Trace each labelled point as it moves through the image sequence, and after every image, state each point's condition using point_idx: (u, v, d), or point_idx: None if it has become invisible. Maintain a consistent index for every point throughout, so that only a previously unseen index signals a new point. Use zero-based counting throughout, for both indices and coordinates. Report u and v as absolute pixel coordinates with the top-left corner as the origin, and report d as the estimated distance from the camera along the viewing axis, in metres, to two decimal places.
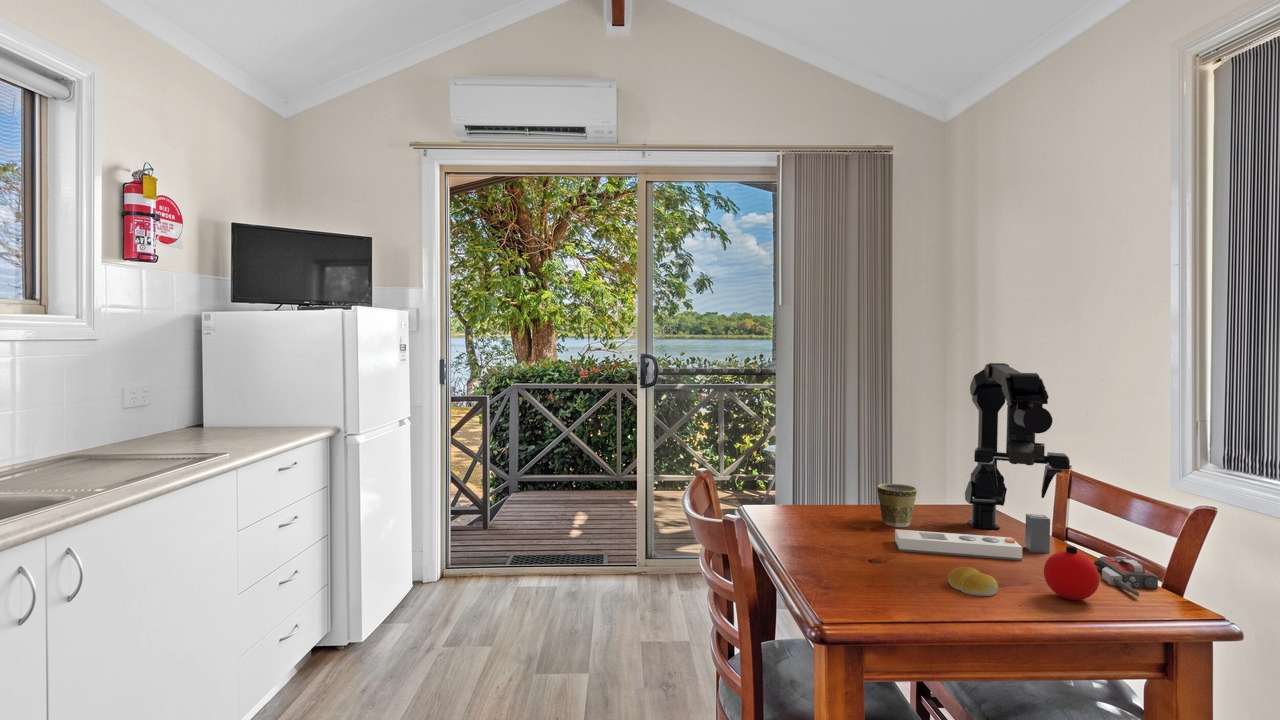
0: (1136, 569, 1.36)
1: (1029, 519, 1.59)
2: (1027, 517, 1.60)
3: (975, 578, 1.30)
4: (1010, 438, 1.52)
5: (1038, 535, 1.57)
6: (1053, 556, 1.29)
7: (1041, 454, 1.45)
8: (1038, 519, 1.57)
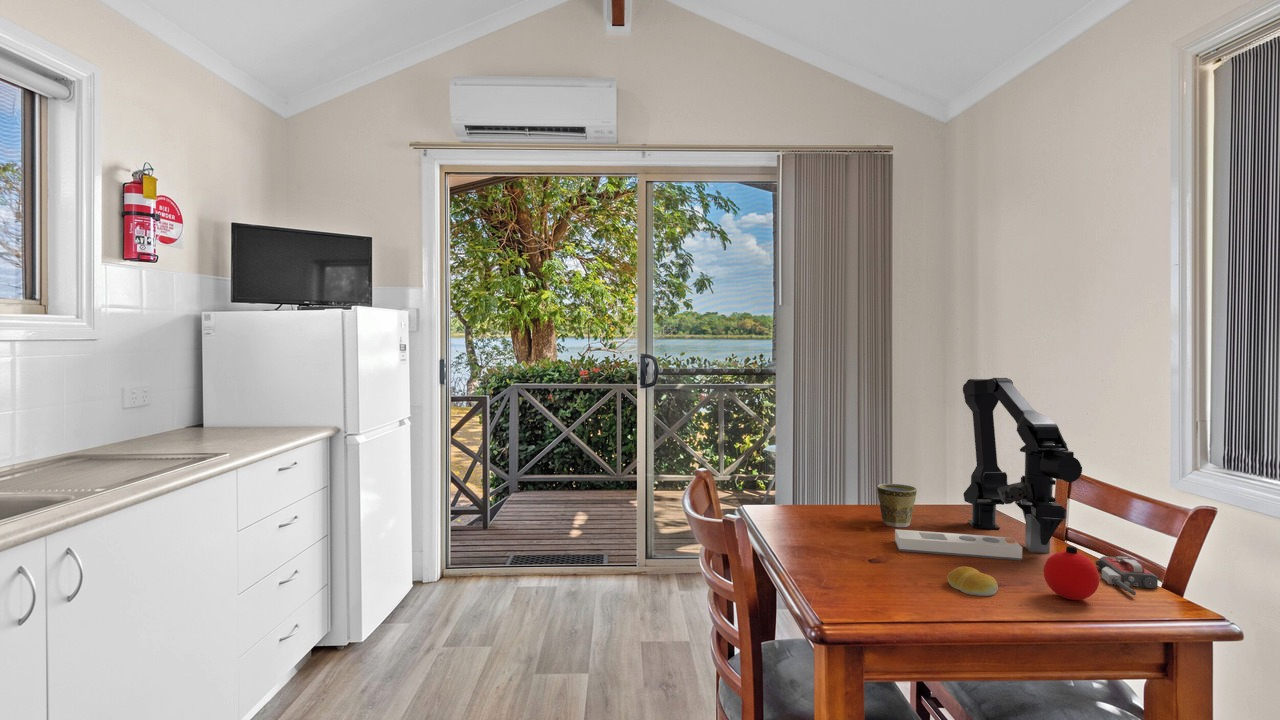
0: (1135, 569, 1.36)
1: (1029, 519, 1.59)
2: (1027, 517, 1.60)
3: (975, 578, 1.30)
4: (1021, 480, 1.62)
5: (1038, 535, 1.57)
6: (1053, 556, 1.29)
7: (1008, 495, 1.57)
8: None
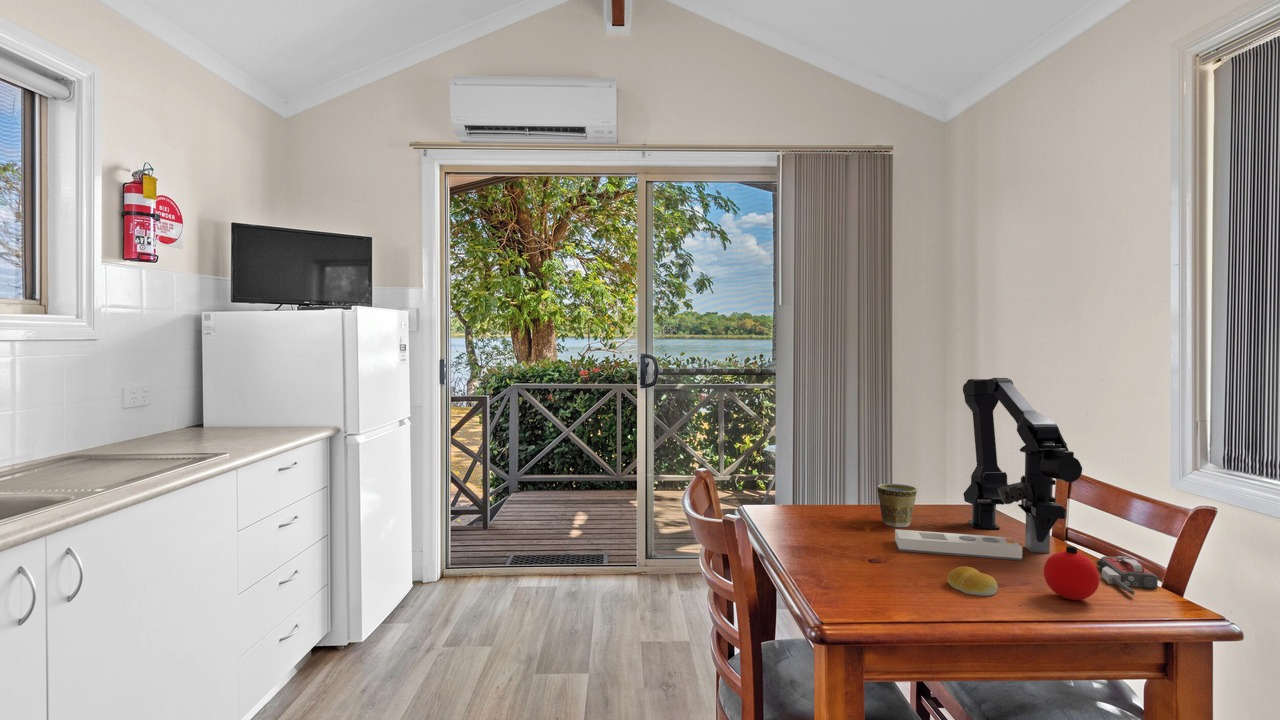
0: (1135, 568, 1.36)
1: (1029, 519, 1.59)
2: (1027, 517, 1.60)
3: (975, 578, 1.30)
4: (1021, 480, 1.62)
5: None
6: (1053, 556, 1.29)
7: (1008, 495, 1.57)
8: None
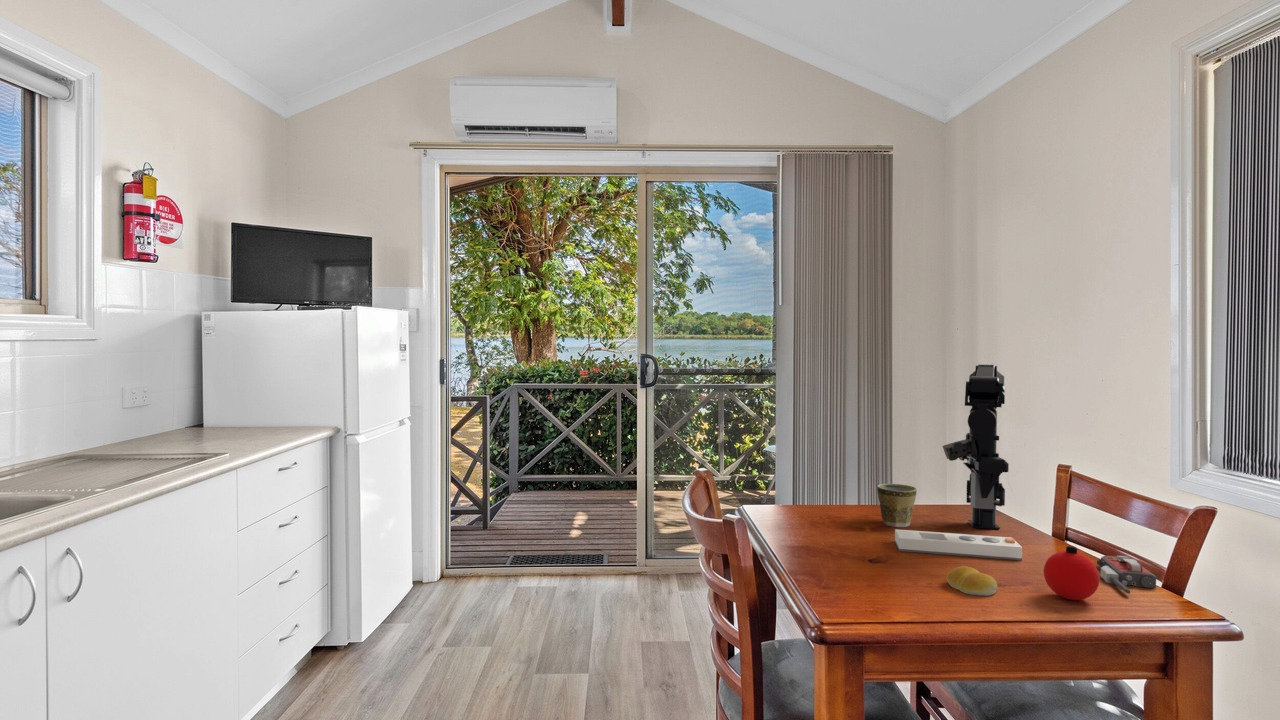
0: (1134, 568, 1.36)
1: (974, 475, 1.58)
2: (972, 474, 1.60)
3: (974, 578, 1.30)
4: (966, 438, 1.61)
5: None
6: (1053, 556, 1.29)
7: (952, 451, 1.57)
8: None
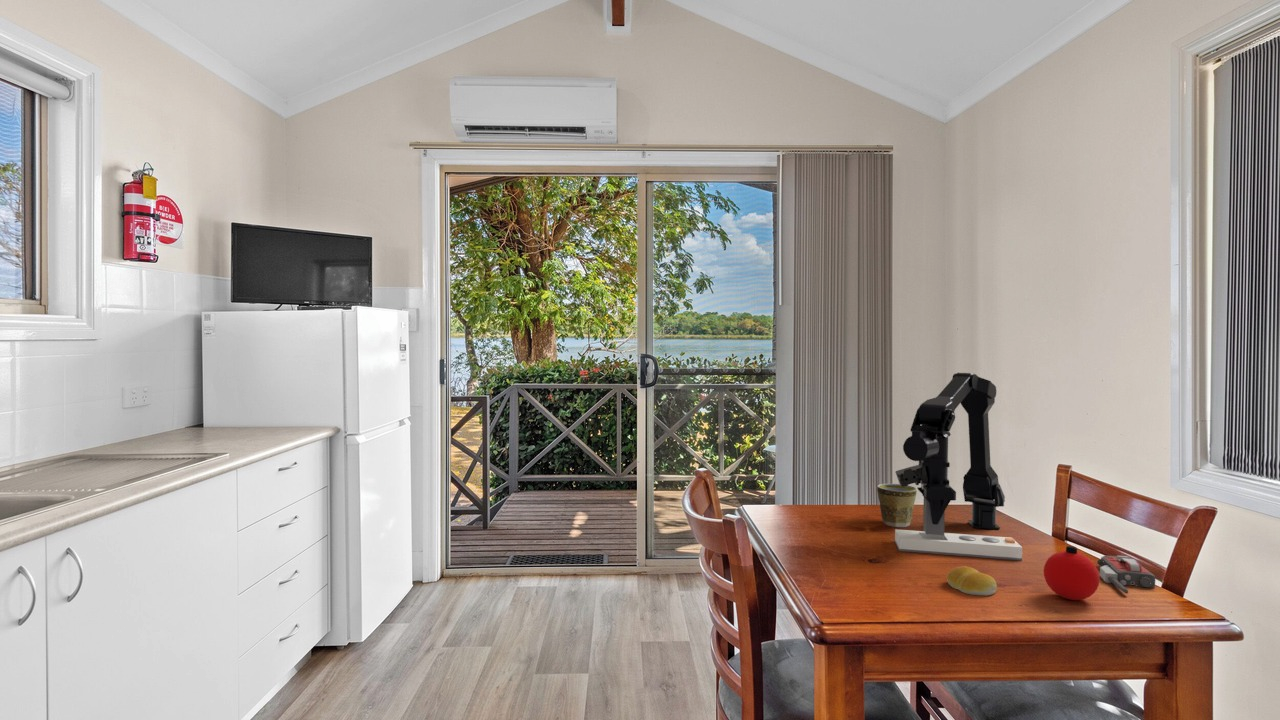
0: (1133, 568, 1.37)
1: (925, 501, 1.59)
2: (924, 500, 1.60)
3: (974, 578, 1.30)
4: None
5: None
6: (1053, 556, 1.29)
7: (903, 477, 1.57)
8: None
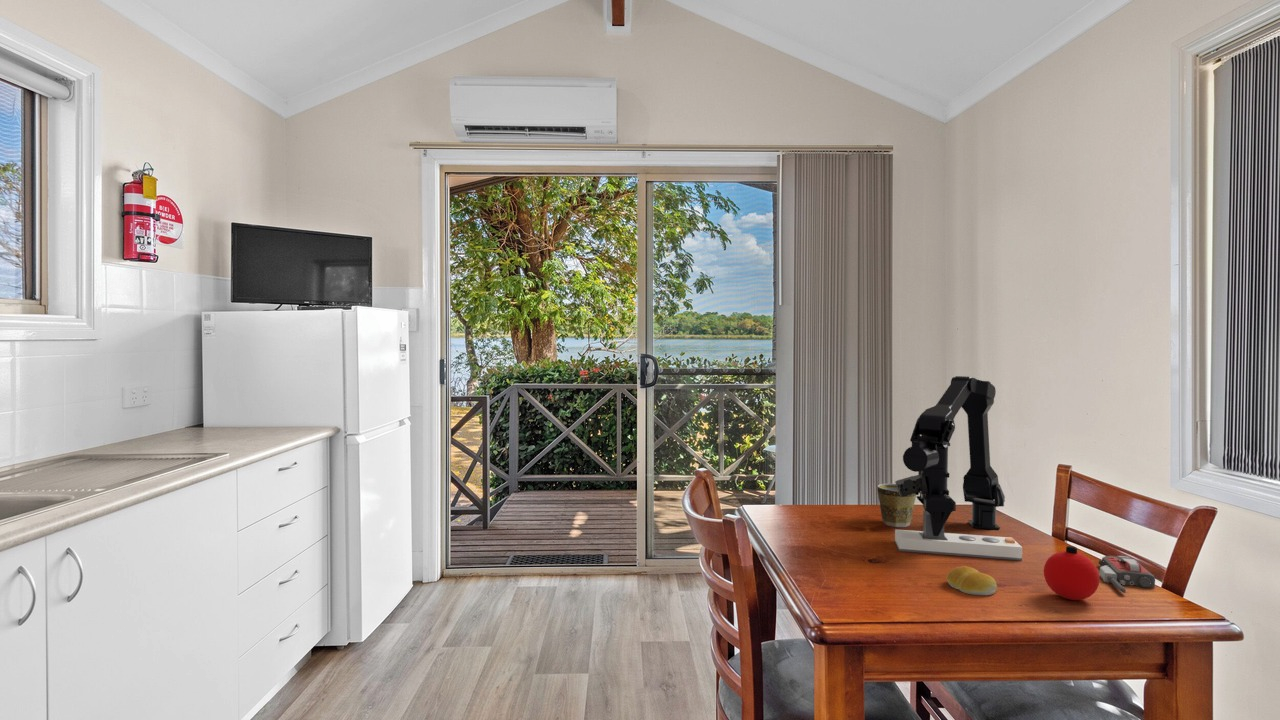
0: (1132, 568, 1.37)
1: (925, 516, 1.59)
2: (924, 514, 1.60)
3: (974, 577, 1.31)
4: (918, 473, 1.62)
5: None
6: (1053, 556, 1.29)
7: (902, 487, 1.57)
8: None
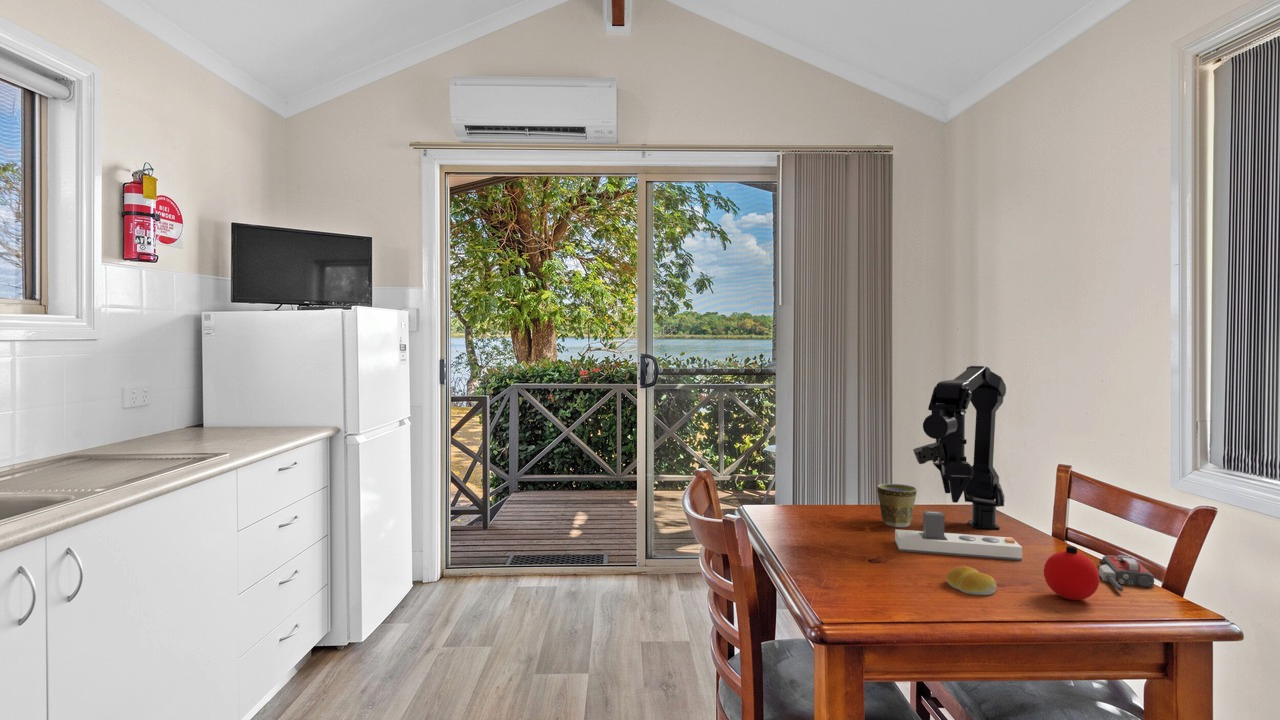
0: (1131, 567, 1.37)
1: (925, 516, 1.59)
2: (924, 514, 1.60)
3: (974, 577, 1.31)
4: None
5: (933, 532, 1.57)
6: (1053, 556, 1.29)
7: (921, 455, 1.61)
8: (932, 515, 1.57)
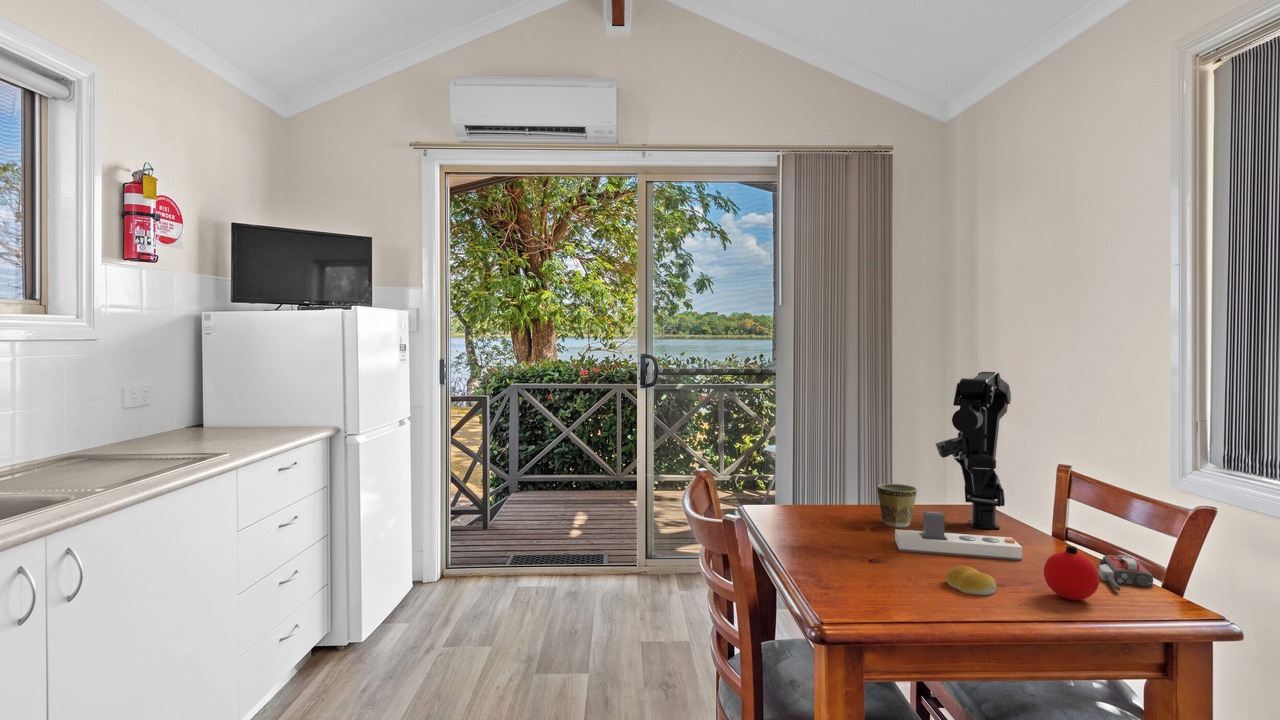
0: (1130, 567, 1.37)
1: (925, 516, 1.59)
2: (924, 514, 1.60)
3: (973, 577, 1.31)
4: None
5: (933, 532, 1.57)
6: (1053, 556, 1.29)
7: (944, 448, 1.66)
8: (932, 515, 1.57)
